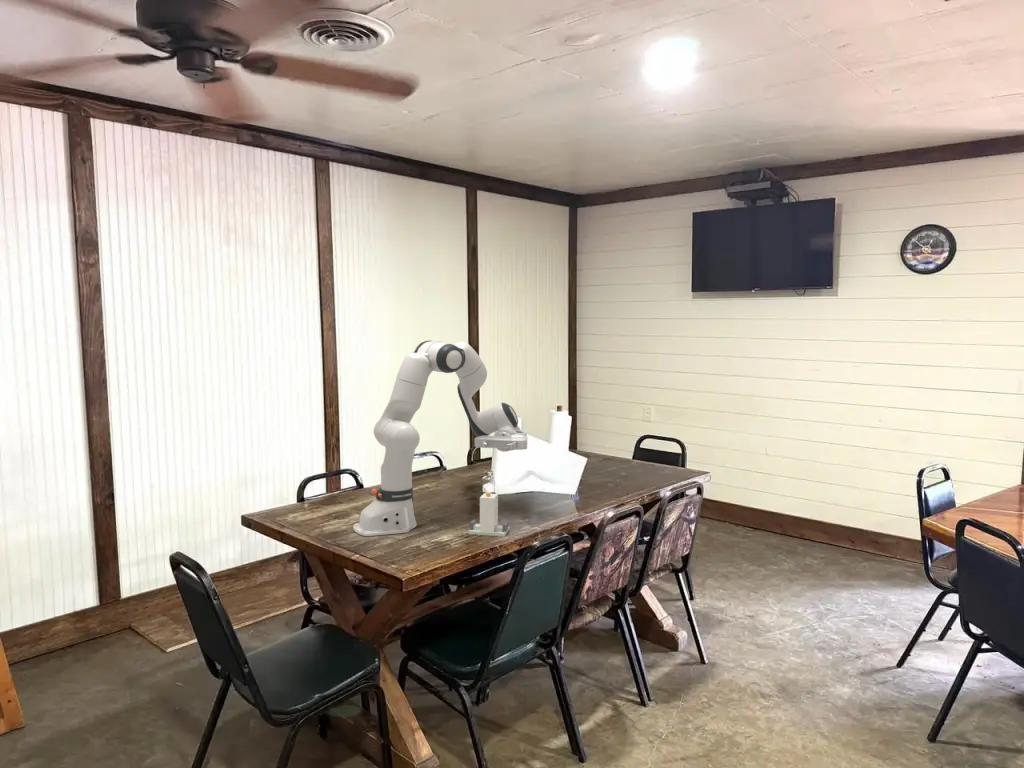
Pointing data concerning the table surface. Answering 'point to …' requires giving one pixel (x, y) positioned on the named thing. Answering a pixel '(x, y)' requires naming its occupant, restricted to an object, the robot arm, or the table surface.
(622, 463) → the table surface
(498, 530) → the rail plate
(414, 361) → the robot arm
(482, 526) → the block
